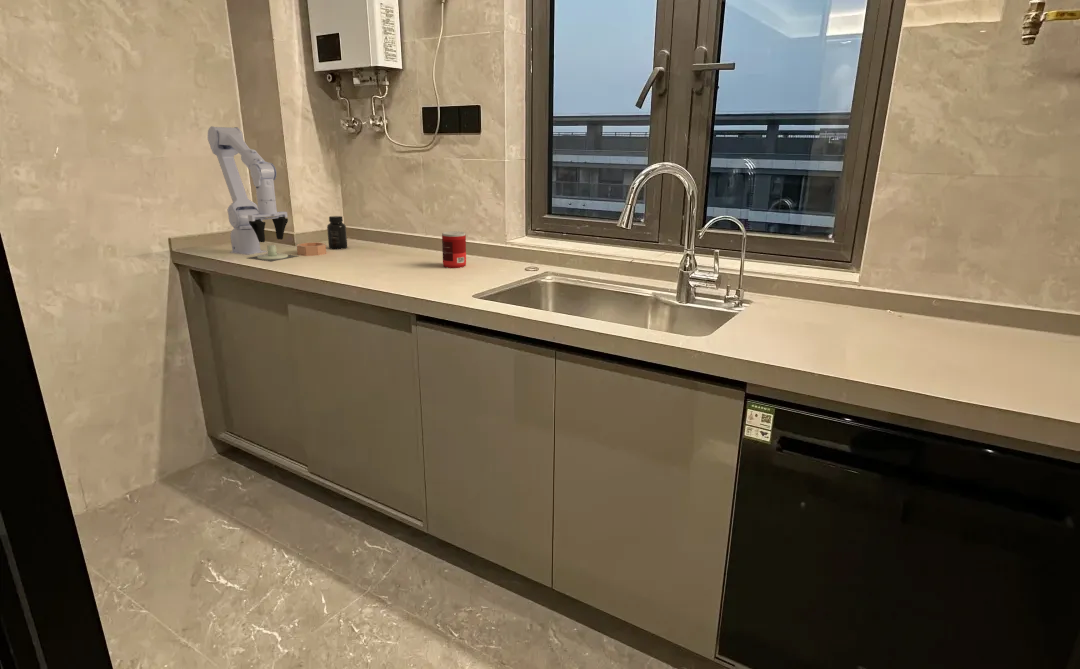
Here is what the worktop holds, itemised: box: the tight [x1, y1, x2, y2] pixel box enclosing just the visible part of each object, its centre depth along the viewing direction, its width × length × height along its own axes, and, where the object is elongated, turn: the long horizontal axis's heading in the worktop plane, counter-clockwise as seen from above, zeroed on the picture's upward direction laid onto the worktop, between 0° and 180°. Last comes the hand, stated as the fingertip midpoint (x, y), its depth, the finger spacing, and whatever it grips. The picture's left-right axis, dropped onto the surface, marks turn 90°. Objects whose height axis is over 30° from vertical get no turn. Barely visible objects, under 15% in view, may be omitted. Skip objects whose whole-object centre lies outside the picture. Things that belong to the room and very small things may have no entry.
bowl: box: [296, 241, 327, 257], centre depth 223 cm, size 10×10×4 cm
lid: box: [256, 244, 289, 260], centre depth 214 cm, size 10×10×4 cm
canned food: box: [441, 231, 467, 269], centre depth 205 cm, size 8×8×11 cm
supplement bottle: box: [326, 215, 348, 250], centre depth 235 cm, size 7×7×12 cm
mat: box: [246, 254, 300, 262], centre depth 214 cm, size 12×12×1 cm
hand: (271, 240), depth 213 cm, fingers open, 7 cm apart
